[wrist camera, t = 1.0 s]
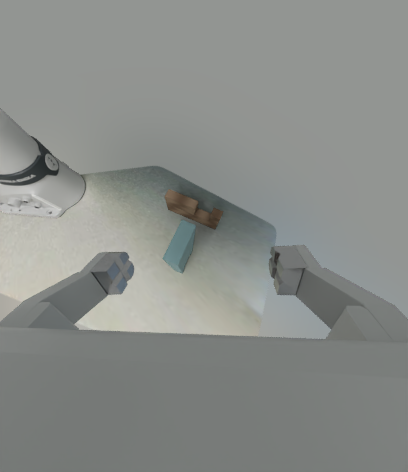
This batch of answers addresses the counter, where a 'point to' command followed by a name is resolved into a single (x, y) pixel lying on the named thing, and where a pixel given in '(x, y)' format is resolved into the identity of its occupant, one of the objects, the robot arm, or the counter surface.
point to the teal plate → (180, 246)
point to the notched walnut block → (191, 209)
